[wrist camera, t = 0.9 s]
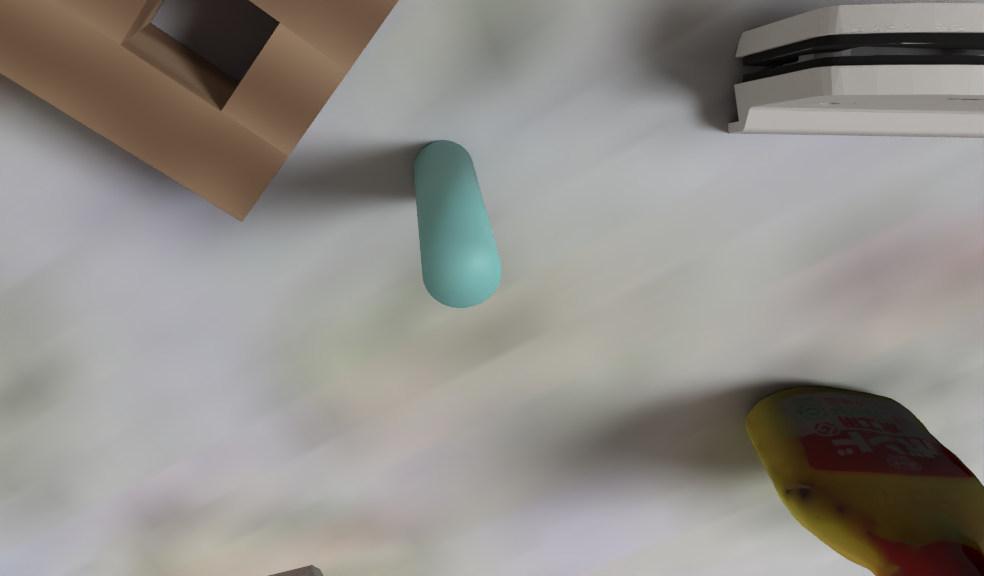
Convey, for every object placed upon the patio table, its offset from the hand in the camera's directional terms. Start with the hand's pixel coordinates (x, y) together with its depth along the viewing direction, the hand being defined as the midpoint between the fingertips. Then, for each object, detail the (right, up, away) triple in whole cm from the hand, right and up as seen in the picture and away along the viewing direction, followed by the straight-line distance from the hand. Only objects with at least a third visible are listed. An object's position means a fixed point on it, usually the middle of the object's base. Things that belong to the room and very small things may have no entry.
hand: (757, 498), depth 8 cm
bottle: (+18, -6, +45) cm, 49 cm away
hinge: (+18, +14, +36) cm, 42 cm away
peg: (-5, +8, +35) cm, 37 cm away
